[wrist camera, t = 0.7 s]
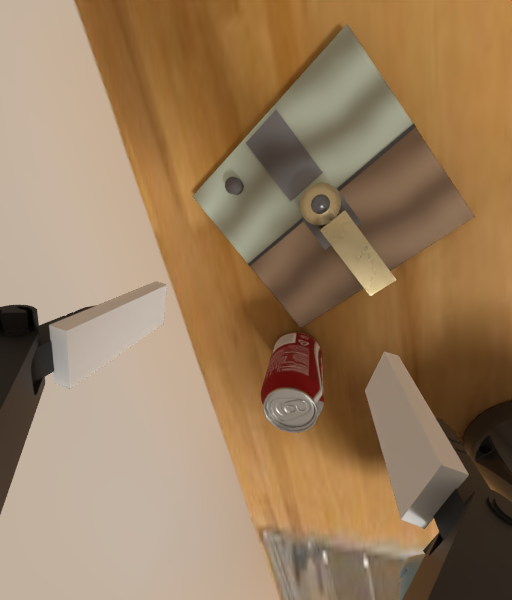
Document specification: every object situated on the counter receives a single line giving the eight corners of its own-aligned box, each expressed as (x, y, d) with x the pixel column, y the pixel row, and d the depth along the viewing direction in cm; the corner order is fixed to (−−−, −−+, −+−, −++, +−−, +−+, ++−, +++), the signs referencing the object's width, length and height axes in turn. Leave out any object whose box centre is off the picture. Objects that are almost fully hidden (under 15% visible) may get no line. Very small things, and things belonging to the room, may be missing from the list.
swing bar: (294, 203, 28) (291, 202, 25) (323, 177, 27) (325, 172, 23) (361, 290, 30) (367, 301, 26) (392, 270, 28) (403, 279, 25)
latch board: (468, 216, 26) (484, 216, 24) (301, 324, 34) (300, 333, 32) (345, 32, 24) (349, 11, 21) (196, 196, 32) (186, 195, 29)
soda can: (267, 336, 36) (247, 390, 25) (312, 324, 34) (311, 377, 23) (284, 374, 38) (271, 441, 27) (327, 364, 36) (333, 433, 25)
